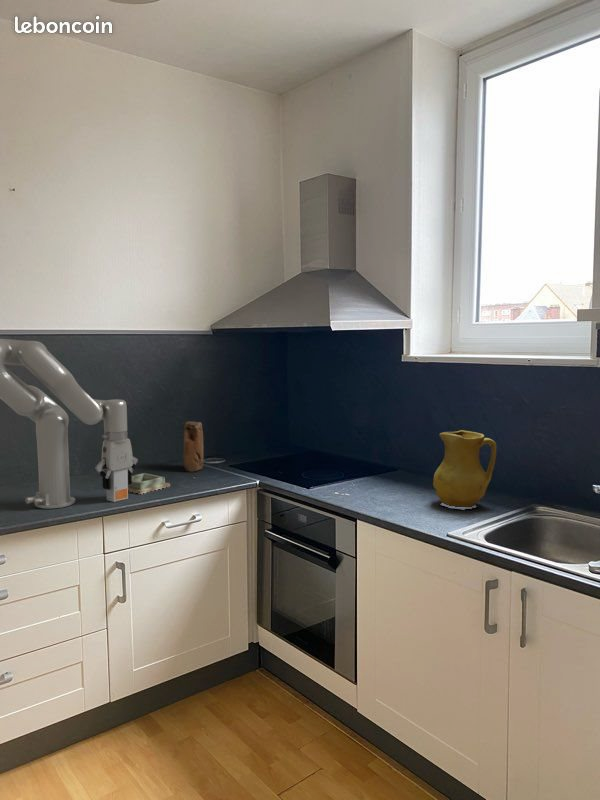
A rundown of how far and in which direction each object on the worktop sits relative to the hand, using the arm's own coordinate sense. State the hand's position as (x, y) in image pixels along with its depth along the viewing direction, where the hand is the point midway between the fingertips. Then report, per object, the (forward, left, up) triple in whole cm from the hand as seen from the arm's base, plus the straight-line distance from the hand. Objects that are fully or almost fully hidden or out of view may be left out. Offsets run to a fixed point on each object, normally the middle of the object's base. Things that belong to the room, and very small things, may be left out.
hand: (117, 486), depth 214 cm
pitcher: (+63, -98, -5) cm, 116 cm away
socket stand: (+16, +6, -5) cm, 18 cm away
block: (+49, +13, -5) cm, 51 cm away
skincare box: (0, 0, -5) cm, 5 cm away
